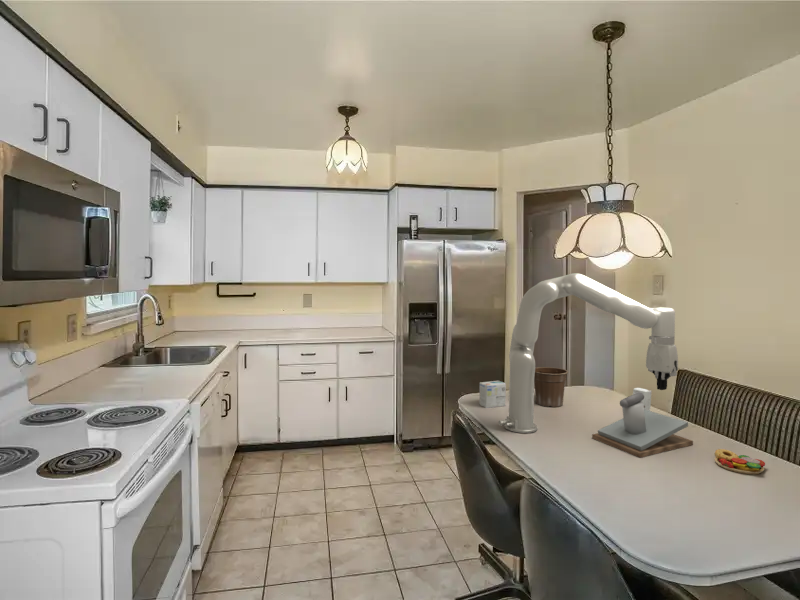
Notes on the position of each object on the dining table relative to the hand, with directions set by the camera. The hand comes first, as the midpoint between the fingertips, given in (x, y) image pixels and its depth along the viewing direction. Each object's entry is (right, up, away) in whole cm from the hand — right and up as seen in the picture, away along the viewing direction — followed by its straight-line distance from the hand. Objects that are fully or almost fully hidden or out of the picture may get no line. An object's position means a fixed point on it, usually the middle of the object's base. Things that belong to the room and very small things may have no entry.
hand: (661, 389), depth 172 cm
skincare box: (+6, -17, +26) cm, 32 cm away
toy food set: (+11, -21, -24) cm, 34 cm away
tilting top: (-9, -14, -3) cm, 17 cm away
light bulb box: (-55, -16, +43) cm, 72 cm away
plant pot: (-28, -16, +46) cm, 56 cm away
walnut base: (-9, -19, -3) cm, 21 cm away
